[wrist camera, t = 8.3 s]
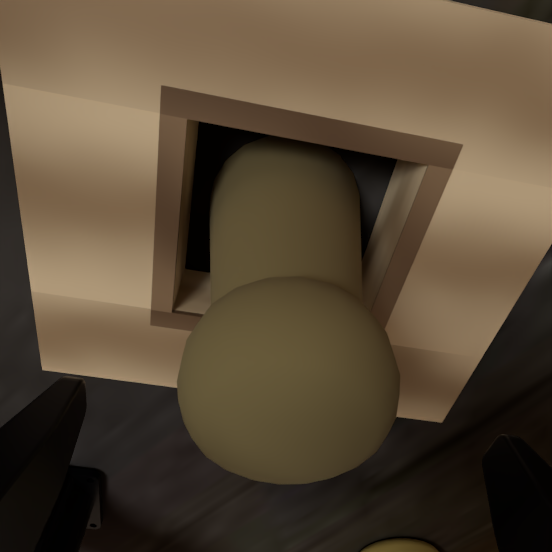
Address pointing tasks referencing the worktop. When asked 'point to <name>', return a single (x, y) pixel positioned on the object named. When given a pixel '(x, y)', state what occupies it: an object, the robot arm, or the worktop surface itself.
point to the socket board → (289, 124)
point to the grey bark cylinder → (400, 546)
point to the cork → (287, 323)
